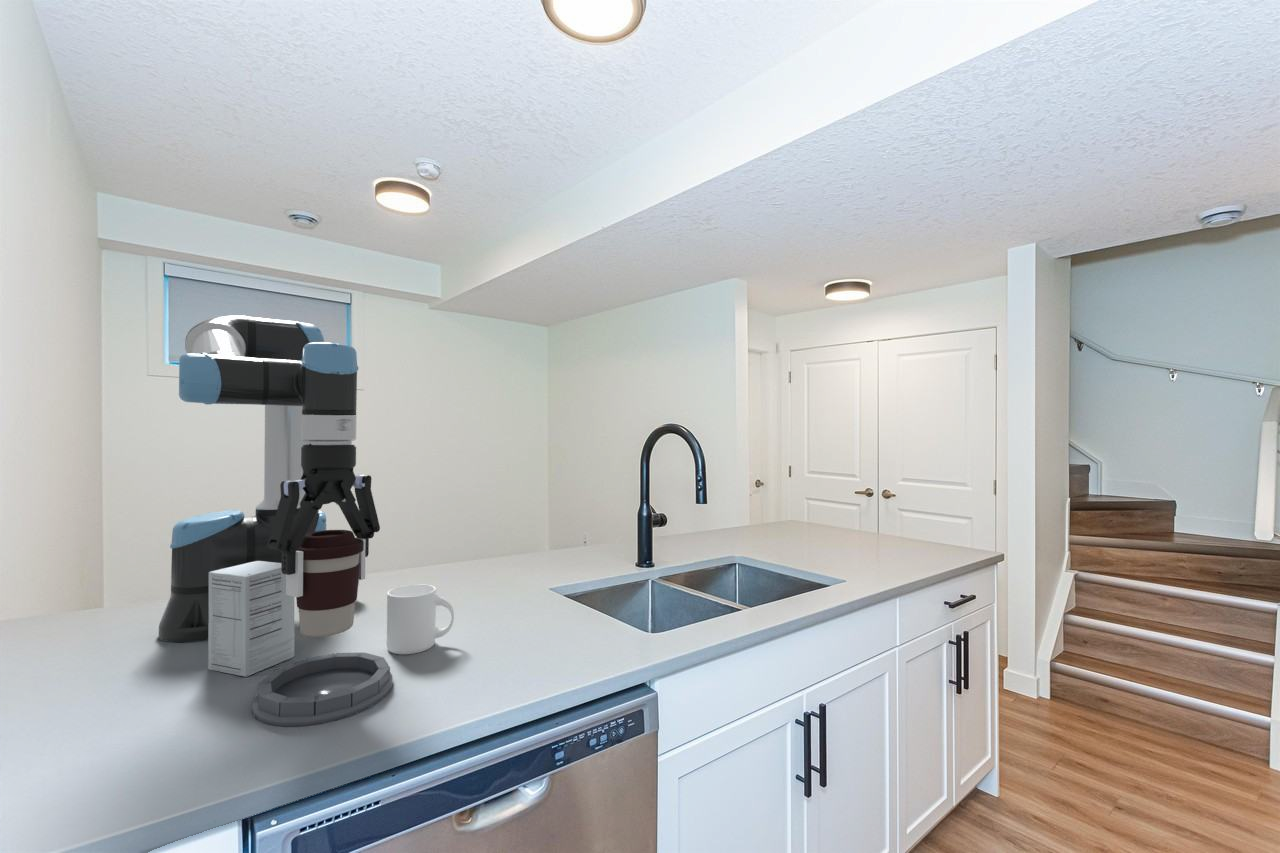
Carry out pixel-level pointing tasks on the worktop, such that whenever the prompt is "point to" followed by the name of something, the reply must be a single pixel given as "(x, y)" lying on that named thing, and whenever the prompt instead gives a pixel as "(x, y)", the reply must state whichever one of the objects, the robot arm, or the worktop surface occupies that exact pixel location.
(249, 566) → the supplement box
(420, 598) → the mug
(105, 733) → the worktop surface
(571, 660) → the worktop surface
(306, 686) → the bowl
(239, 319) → the robot arm
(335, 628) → the coffee cup
